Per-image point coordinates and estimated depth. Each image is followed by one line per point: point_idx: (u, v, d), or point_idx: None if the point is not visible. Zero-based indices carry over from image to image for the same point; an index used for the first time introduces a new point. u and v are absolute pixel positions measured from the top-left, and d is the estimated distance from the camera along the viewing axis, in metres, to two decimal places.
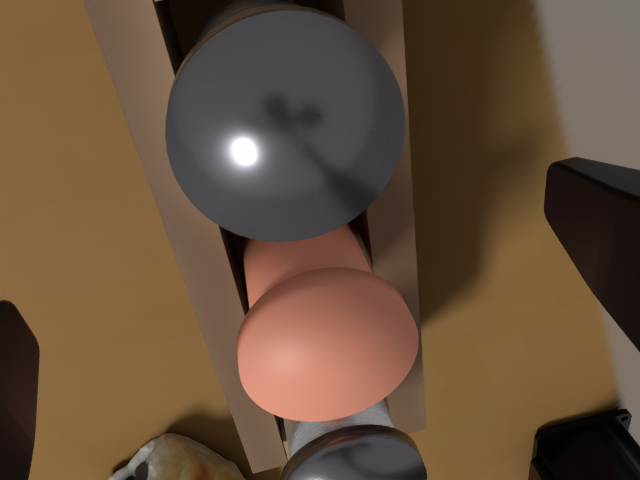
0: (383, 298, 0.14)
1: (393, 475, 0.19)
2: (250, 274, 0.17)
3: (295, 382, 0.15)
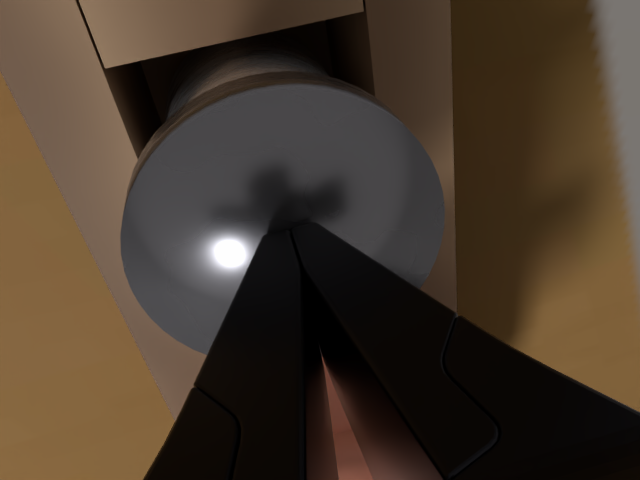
0: None
1: None
2: None
3: None
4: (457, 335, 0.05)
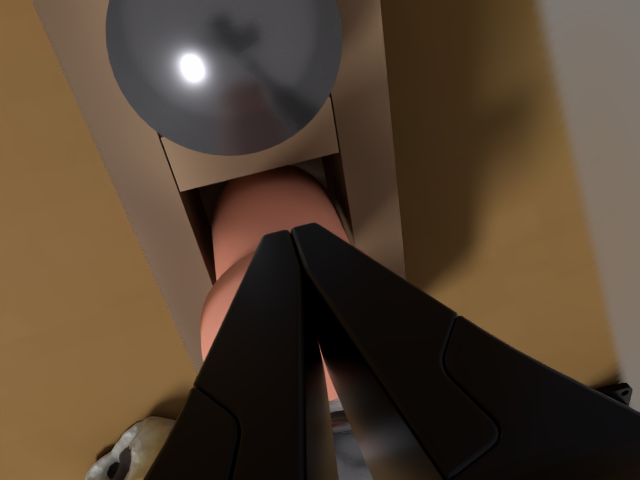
0: None
1: None
2: (217, 250, 0.16)
3: None
4: (457, 335, 0.05)
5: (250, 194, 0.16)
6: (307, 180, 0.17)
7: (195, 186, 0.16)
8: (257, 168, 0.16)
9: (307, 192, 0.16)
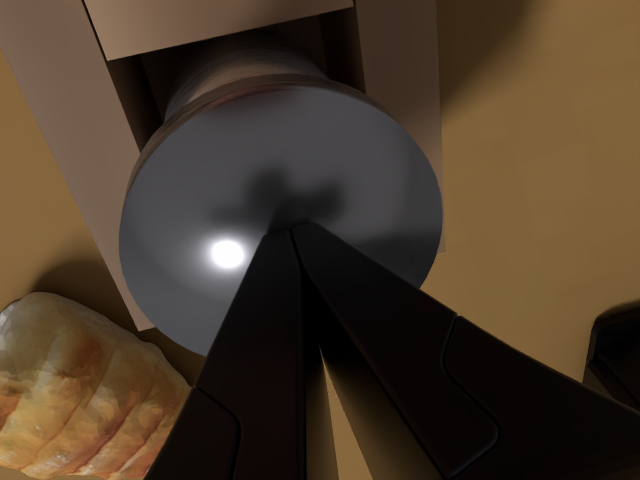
0: None
1: (371, 204, 0.08)
2: None
3: None
4: (457, 335, 0.05)
5: None
6: None
7: None
8: None
9: None
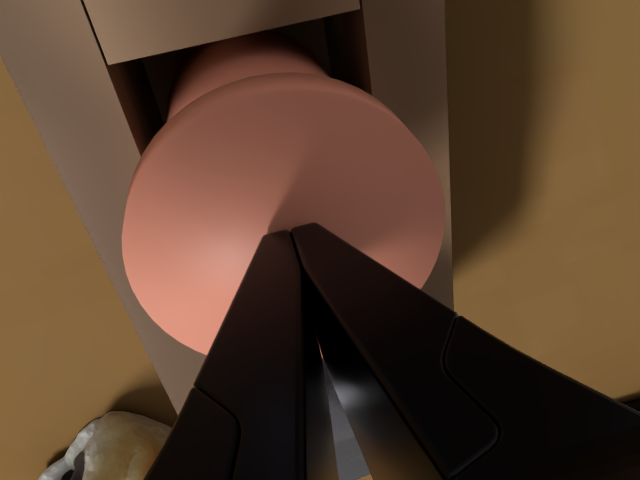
0: (382, 124, 0.08)
1: None
2: None
3: (232, 293, 0.09)
4: (457, 335, 0.05)
5: (217, 56, 0.11)
6: (301, 49, 0.12)
7: (132, 57, 0.10)
8: (231, 29, 0.10)
9: (301, 56, 0.11)
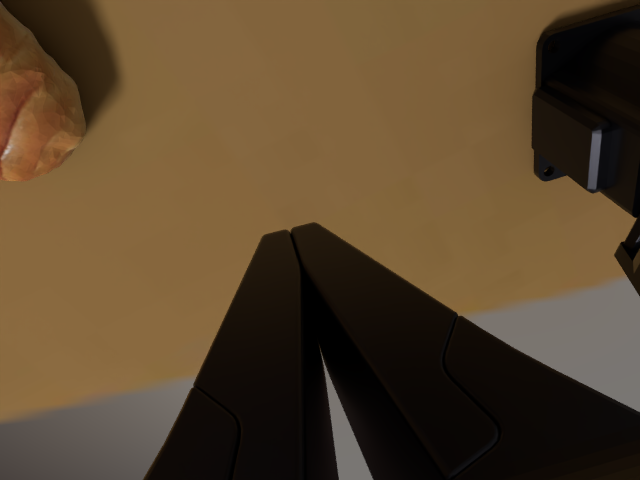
0: None
1: None
2: None
3: None
4: (457, 335, 0.05)
5: None
6: None
7: None
8: None
9: None
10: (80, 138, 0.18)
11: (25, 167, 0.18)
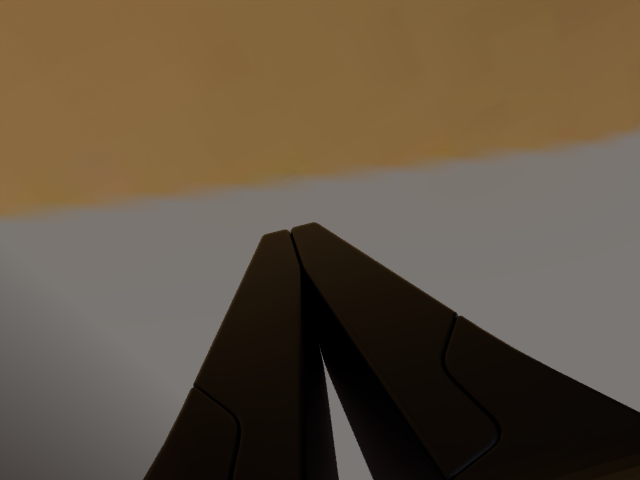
0: None
1: None
2: None
3: None
4: (457, 335, 0.05)
5: None
6: None
7: None
8: None
9: None
10: None
11: None
